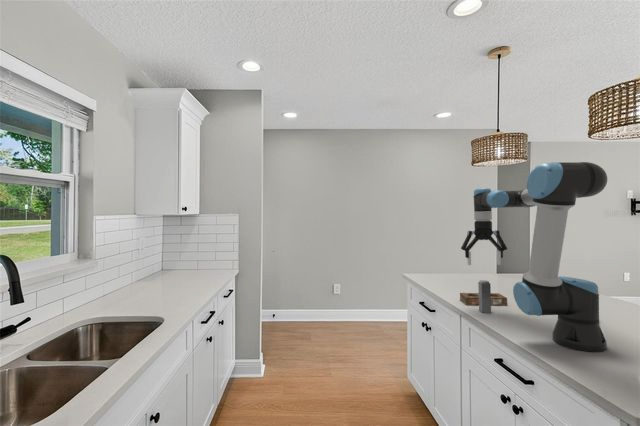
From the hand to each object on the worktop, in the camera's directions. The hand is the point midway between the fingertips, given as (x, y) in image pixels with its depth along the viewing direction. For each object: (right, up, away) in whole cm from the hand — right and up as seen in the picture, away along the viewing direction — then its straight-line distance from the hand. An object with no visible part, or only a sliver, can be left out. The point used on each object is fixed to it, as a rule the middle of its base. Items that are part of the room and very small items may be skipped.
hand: (484, 264), depth 155 cm
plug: (0, -23, 0) cm, 23 cm away
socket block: (+7, -23, +15) cm, 28 cm away
